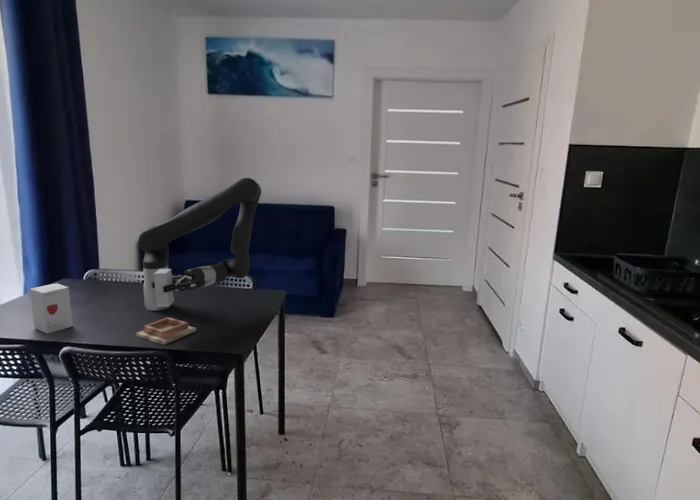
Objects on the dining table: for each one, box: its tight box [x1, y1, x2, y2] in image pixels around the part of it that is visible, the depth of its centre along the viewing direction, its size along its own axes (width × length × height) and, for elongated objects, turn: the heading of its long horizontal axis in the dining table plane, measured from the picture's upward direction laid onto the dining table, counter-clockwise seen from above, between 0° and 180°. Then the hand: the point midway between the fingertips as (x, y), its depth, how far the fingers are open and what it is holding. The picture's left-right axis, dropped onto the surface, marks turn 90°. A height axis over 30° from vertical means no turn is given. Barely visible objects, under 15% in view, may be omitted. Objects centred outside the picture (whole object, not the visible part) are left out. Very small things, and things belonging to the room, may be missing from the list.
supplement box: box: [29, 282, 73, 334], centre depth 161 cm, size 9×9×15 cm
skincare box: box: [154, 268, 175, 308], centre depth 156 cm, size 6×4×12 cm
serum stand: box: [135, 316, 197, 345], centre depth 159 cm, size 14×14×3 cm
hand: (157, 287), depth 154 cm, fingers closed on skincare box, 7 cm apart
